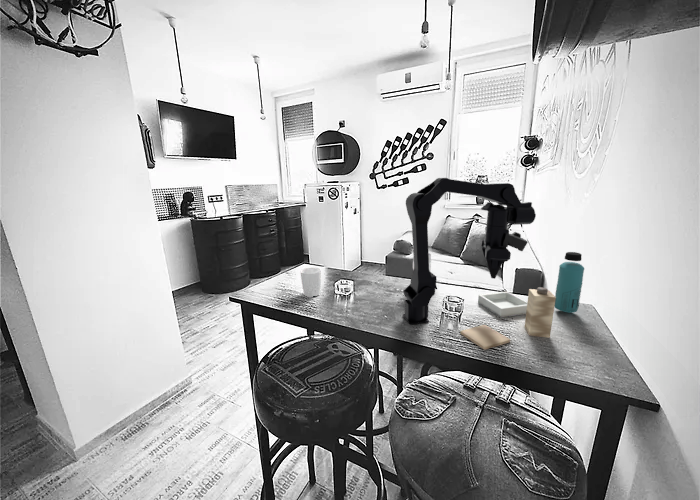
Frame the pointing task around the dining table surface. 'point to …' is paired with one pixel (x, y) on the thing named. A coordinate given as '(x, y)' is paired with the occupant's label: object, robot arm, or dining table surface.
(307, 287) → the white cup
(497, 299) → the tray
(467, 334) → the cork coaster
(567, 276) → the beverage bottle
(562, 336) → the dining table surface
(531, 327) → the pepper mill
